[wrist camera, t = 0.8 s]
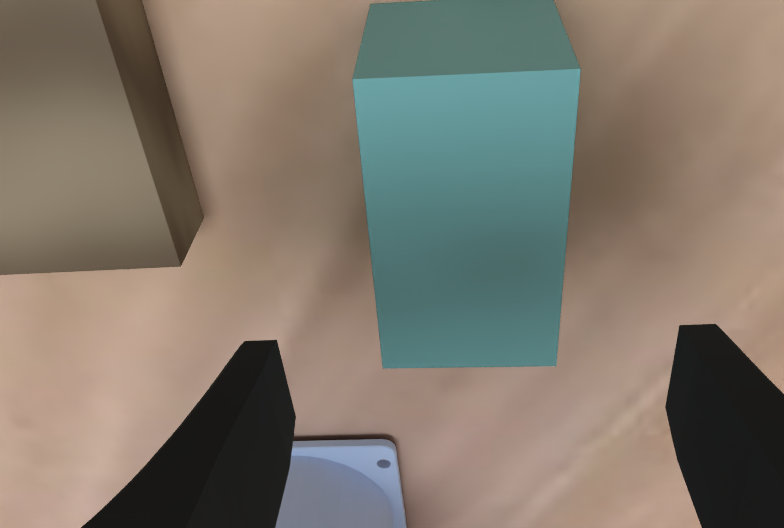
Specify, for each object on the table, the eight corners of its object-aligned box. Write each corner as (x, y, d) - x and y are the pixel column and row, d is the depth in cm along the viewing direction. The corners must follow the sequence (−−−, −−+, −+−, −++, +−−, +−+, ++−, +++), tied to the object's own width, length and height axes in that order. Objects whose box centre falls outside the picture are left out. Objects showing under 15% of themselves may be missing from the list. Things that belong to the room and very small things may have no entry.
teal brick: (536, 254, 23) (556, 366, 19) (392, 257, 24) (382, 368, 20) (550, -8, 19) (580, 68, 15) (371, 2, 19) (352, 79, 15)
